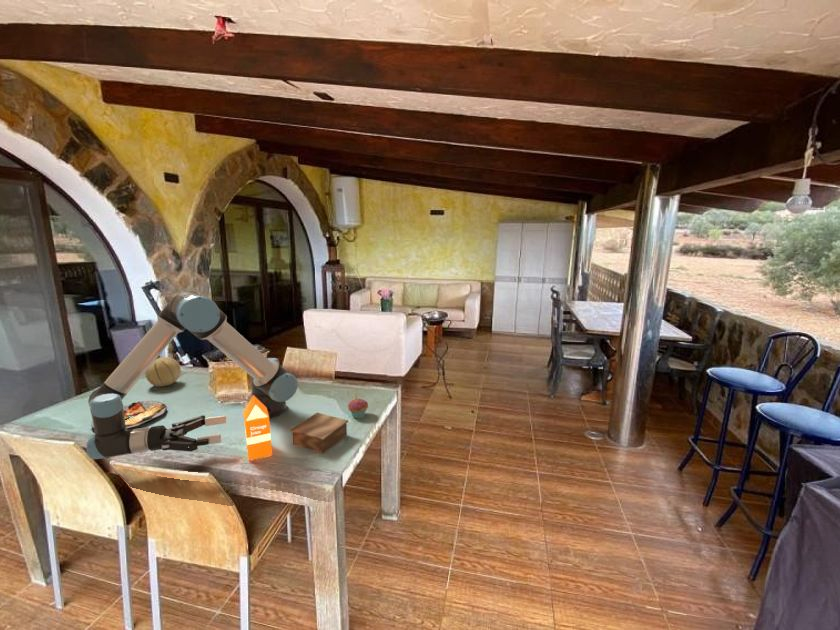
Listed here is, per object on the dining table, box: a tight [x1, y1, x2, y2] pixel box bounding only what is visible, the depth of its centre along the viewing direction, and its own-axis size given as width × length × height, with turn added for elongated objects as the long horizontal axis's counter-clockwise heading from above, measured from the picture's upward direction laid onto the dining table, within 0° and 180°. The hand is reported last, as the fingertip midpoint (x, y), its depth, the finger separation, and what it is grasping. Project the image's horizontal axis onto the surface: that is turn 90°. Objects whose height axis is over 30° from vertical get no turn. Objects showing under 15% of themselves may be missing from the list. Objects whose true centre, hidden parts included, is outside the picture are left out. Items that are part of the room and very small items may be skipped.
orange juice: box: [242, 395, 273, 461], centre depth 134 cm, size 8×9×20 cm
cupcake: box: [347, 391, 369, 419], centre depth 162 cm, size 9×8×12 cm
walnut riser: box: [289, 412, 349, 454], centre depth 144 cm, size 15×15×6 cm
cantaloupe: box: [144, 356, 182, 387], centre depth 192 cm, size 15×15×15 cm
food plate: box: [90, 400, 168, 429], centre depth 159 cm, size 25×23×4 cm
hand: (223, 428), depth 130 cm, fingers open, 13 cm apart
